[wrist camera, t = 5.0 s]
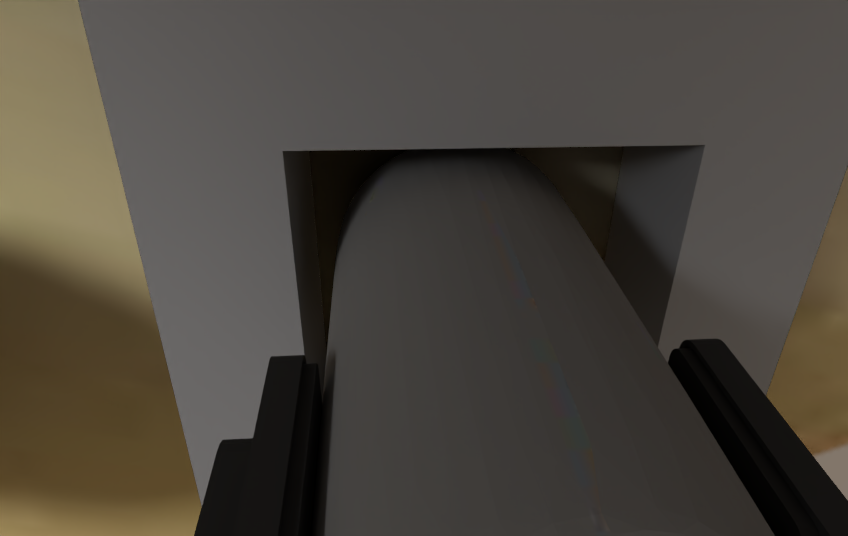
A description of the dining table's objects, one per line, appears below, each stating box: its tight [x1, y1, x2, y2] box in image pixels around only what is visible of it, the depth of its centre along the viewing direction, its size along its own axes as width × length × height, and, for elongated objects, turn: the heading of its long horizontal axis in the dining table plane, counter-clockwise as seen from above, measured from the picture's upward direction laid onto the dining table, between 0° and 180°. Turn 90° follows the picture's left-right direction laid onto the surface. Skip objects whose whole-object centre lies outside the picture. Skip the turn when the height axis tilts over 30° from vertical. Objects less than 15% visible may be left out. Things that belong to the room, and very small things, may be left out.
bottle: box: [312, 148, 775, 536], centre depth 10 cm, size 6×6×15 cm
